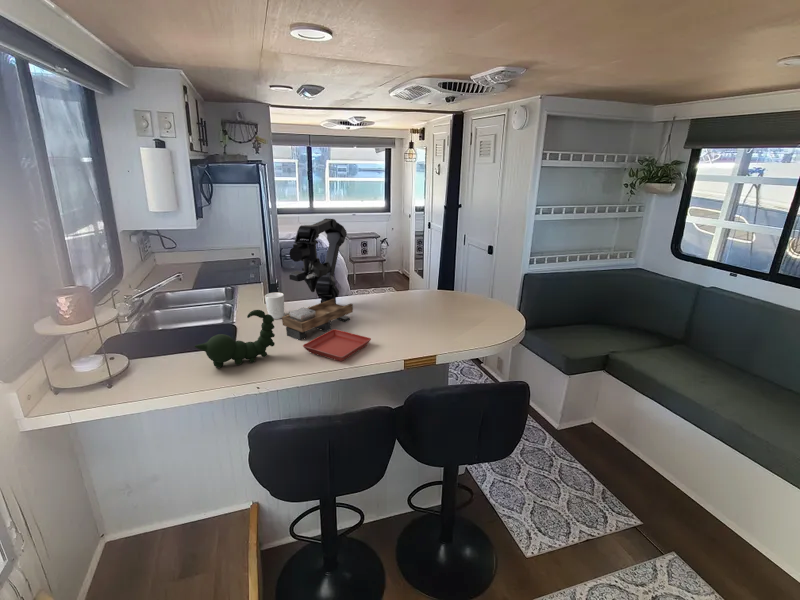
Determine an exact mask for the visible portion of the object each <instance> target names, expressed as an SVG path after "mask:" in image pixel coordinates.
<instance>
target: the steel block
mask: <svg viewBox="0 0 800 600" xmlns="http://www.w3.org/2000/svg"><path fill="white" fill-rule="evenodd" d="M289 314H290V318H291V319H294V320H297V321H300V322H304V321H307V320H310V319H312V318H315V317H316V315H315V311H314V310H311V309H308V307H304V306H303V307H299V308H298V309H295V310H292V311H289ZM289 314H288V315H289Z"/></svg>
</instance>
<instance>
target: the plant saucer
mask: <svg viewBox="0 0 800 600" xmlns="http://www.w3.org/2000/svg"><path fill="white" fill-rule="evenodd" d="M371 340H372V338H370V337H366V336H363V335H360V334H356V333H351V332H347V331H343V330H341V329H340V330H339V329H335V328H333V329H330V330H328V331H326V332H325V333H323V334H322V335H319V336H318V337H315V338H314V339H312V340H310V341H308V342H306V343H304V344H303V345H302V347H303V348H304V349H305V350H306V351H308V352H309V353H310V352H311V354H313V353H314V354H315V355H317V354H318V356H320V355H321V356H320V357H324V356H325V358H327V357H328V359H331V360H334V359H335V361H337V360H338V362H343V361H344V359H345V360H346V359H348V358H349V357H351V356H352V355H354V354H355V353H357V352H358V350H359V351H360V350H362V349H363V348H364V347H366V346H367V345H368V344H369V343H370V342H371Z"/></svg>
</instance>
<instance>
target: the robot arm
mask: <svg viewBox="0 0 800 600" xmlns="http://www.w3.org/2000/svg"><path fill="white" fill-rule="evenodd" d="M322 233H324V234H326V240H327V242H328V247H327V253H326V255H325V256H326V258H325V262H322V263H321V261H320V260H321V259H320V258H319V257H318V254H317V244H318V243H319V241H318V240H317V239H318V238H319V237H320V234H322ZM347 233H348V232H347V229H346V228H345V227H344V225H342V224H340V223H339V222H337V220H336V219H334V218H323V220H320V221H318V222H316V223H313V224H304V225H300V226H299V227H298V229H297V231H296V236H295V239H294V244H292V246H293V247H292V248H291V249H290V250H289V257H290V259H291V261H293V262H296V263H297V262H300V261H301V262H303V263H302V264H303V268H301V271H299V270H295V271H292V272H290V273H289V276H288V277H289V280H291V281H295V282H302V281H304V282H305V283H306V285H307V286H308V288H309V290H310V291H311V293H314V292H315V291H316V292H315V293H316V295H317V297H320V303H322V302H325V301H328V300H331V299H334V300H335V304H337V298H338V297H339V295H340V290H339V288H338V287H337V286H336V279H335V277H334V275H335V271H336V266H337V260H338V256H339V251H340V247H341V246H342V245H343V244H344V243H345V240H346V237H347Z"/></svg>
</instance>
